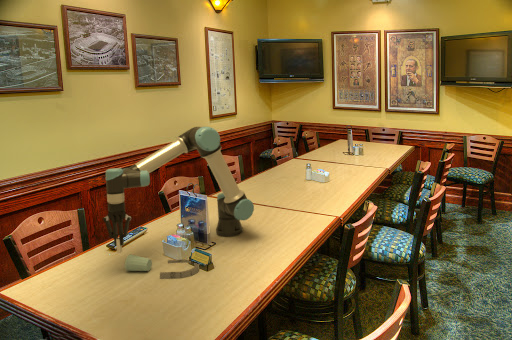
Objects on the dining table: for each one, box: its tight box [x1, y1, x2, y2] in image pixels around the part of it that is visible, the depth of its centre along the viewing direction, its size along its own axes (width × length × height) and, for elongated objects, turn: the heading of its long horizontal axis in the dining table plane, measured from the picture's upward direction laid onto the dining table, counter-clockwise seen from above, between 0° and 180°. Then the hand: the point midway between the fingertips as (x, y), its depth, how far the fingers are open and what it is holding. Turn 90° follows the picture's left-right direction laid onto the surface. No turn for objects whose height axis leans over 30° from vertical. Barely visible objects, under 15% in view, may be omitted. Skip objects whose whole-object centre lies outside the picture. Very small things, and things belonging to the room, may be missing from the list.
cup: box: [124, 254, 153, 272], centre depth 207 cm, size 8×8×10 cm
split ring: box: [159, 258, 200, 280], centre depth 206 cm, size 16×18×2 cm
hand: (119, 252), depth 205 cm, fingers closed
